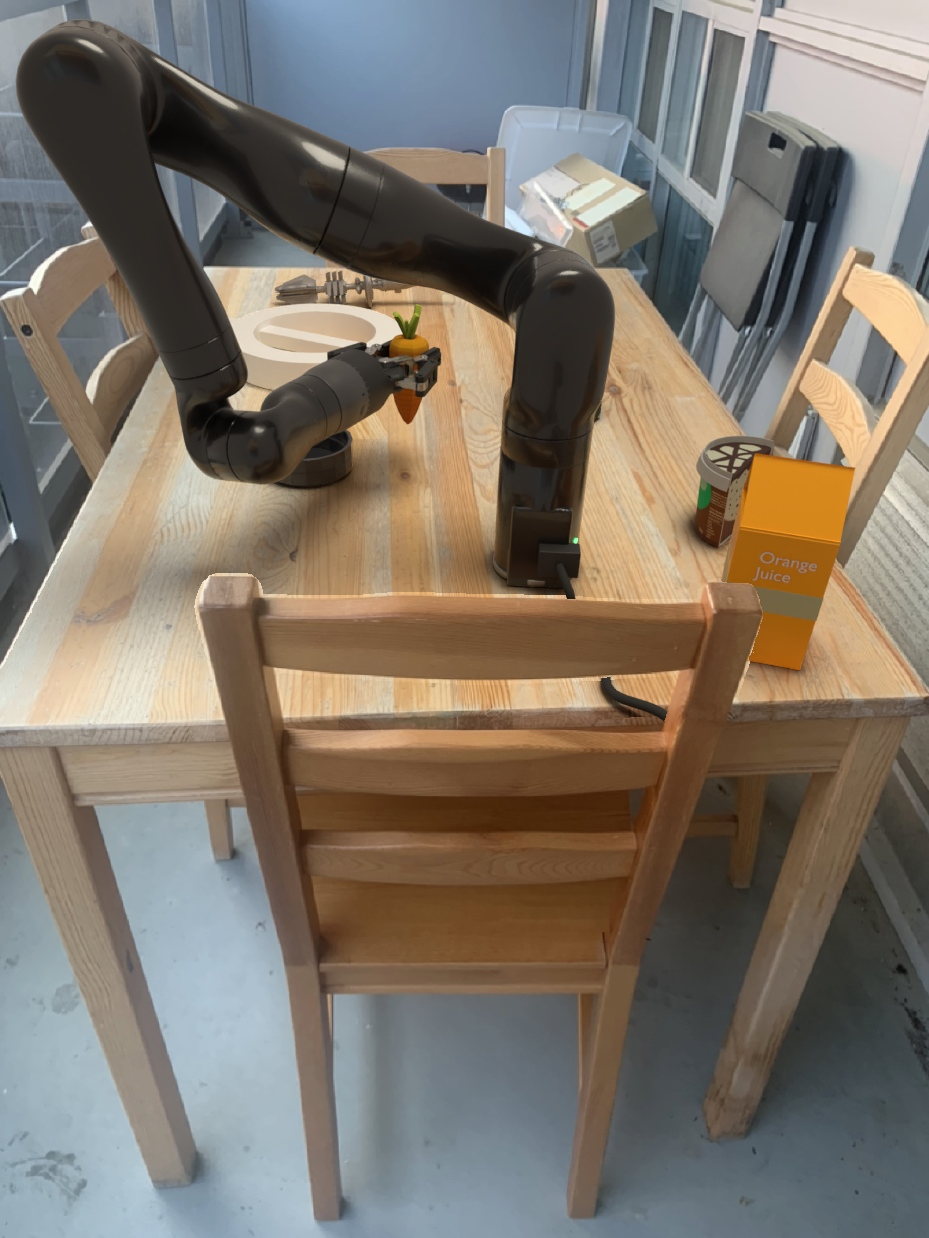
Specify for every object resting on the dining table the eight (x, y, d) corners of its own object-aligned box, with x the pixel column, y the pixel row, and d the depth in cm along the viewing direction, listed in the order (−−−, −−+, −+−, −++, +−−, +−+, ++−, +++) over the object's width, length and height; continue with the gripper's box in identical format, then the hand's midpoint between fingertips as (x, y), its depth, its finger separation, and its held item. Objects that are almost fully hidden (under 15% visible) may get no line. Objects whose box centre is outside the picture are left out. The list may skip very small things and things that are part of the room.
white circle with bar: (426, 381, 145) (426, 352, 142) (248, 402, 136) (244, 371, 133) (373, 324, 165) (372, 297, 162) (216, 339, 156) (212, 311, 154)
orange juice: (800, 671, 89) (859, 487, 77) (708, 653, 91) (752, 471, 79) (799, 625, 95) (854, 448, 83) (712, 610, 97) (754, 435, 85)
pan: (346, 491, 115) (345, 462, 113) (253, 487, 115) (249, 458, 113) (358, 449, 125) (357, 422, 122) (272, 445, 125) (269, 418, 122)
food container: (713, 497, 117) (729, 424, 111) (758, 513, 114) (777, 439, 108) (665, 534, 109) (679, 458, 103) (712, 553, 106) (730, 475, 100)
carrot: (392, 433, 116) (393, 313, 107) (385, 417, 120) (385, 300, 111) (431, 430, 117) (435, 312, 108) (422, 415, 121) (425, 299, 112)
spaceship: (463, 272, 166) (459, 244, 170) (270, 290, 165) (271, 262, 169) (465, 307, 173) (461, 279, 177) (279, 325, 172) (280, 297, 176)
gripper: (393, 375, 97) (470, 332, 110) (285, 347, 103) (369, 309, 115) (393, 440, 102) (467, 392, 114) (289, 410, 107) (370, 367, 119)
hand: (417, 350), depth 115 cm, fingers closed on carrot, 5 cm apart
